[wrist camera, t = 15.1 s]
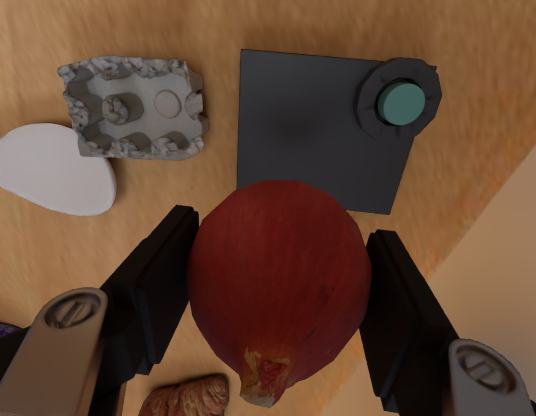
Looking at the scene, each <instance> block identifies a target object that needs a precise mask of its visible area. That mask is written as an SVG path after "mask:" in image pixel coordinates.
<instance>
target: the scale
mask: <svg viewBox="0 0 536 416" xmlns="http://www.w3.org/2000/svg"><path fill="white" fill-rule="evenodd" d="M436 68H437V66H430V65H428V64H426V63H425V62H424V61H423V60H421V59H412V58H401V57H399V58H391V59H389V60H387V61H374V60H362V59H351V58H340V57H328V56H317V55H306V54H294V53H283V52H272V51H260V50H249V49H241V59H240V92H239V125H238V157H237V190H238V189H241V188H244V187H246V186H249V185H252V184H255V183H257V182H260V181H263V180H299V181H301V182H303V183H306V184H308V185H310V186H313V187H315V188H317V189H320V190H322V191H324V192H327V193H329V194H330V195H331V196H332V197H333V198H334V199H335V200H336V201H337V202H338V203H339V204H340V205H341V206H342V207H343V208H344V209H345V210H350V211H359V212H367V213H376V214H385V215H390V212H391V208H392V205H393V202H394V199H395V196H396V193H397V190H398V187H399V184H400V180H401V177H402V174H403V171H404V168H405V165H406V162H407V159H408V156H409V152H410V149H411V146H412V143H413V140H414V137H415V136H416V135H418V134H419V133H420V132H421V131H422V130H423V129H424V128H425V127H426V126H427V125H428V124H429V123H430V122H431V121H432V120H433V119H434V117H435V115H436V112H437V109H438V106H439V103H440V100H441V98H442V92H441V87H440V82H439V77H438V74H437V73H436V72H435V71H436ZM399 82H403V83H410V84H414V85H417V86H418V87H419V88H420V89H421V90H422V91H423V93H424V96H425V104H424V108H423V110H422V112H421V114H420V115H419V116H418V117H417V118H416V119H415V120H414V121H412V122H410V123H408V124H405V125H395V124H392V123H390V122H389V121H387V120H385V119H384V118H383V117H382V116H381V115H380V113H379V111H378V100H379V97H380V95H381V94H382V92H383V91H384V90H385V89H386V88H387V87H388V86H390V85H392V84H394V83H399Z"/></svg>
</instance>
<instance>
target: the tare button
mask: <svg viewBox="0 0 536 416" xmlns="http://www.w3.org/2000/svg"><path fill="white" fill-rule="evenodd" d="M424 104H425V96H424V93H423V91H422V90H421V89H420V88H419V87H418V86H417V85H414V84H410V83H403V82H399V83H394V84H392V85H390V86H388V87H387V88H386V89H385V90H384V91H383V92H382V94H381V95H380V97H379V100H378V111H379V113H380V115H381V116H382V117H383V118H384V119H385V120H387V121H389V122H390V123H392V124H395V125H405V124H408V123H410V122H412V121H414V120H415V119H416V118H417V117H418V116H419V115H420V114H421V112H422V110H423V108H424Z"/></svg>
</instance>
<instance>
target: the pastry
mask: <svg viewBox="0 0 536 416" xmlns="http://www.w3.org/2000/svg"><path fill="white" fill-rule="evenodd" d="M228 401H229V391H228V386H227V382H226V381H225V380H224V378H223V377H222V376H219V375H218V376H216V375H215V376H208V377H203V378H201V379H195V380H190V381H187V382H185V383H184V384H182V385H180V384H177V385H175V386H168V387H162V388H159V389H157V390H155V391H153V392H152V393H151V394H150V395H149V396H148V397H147V398H146V400H145V401H144V402H143V405H142V407H141V409H140V412H139V415H138V416H224V409H225V408H226V406H227V405H228Z"/></svg>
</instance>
